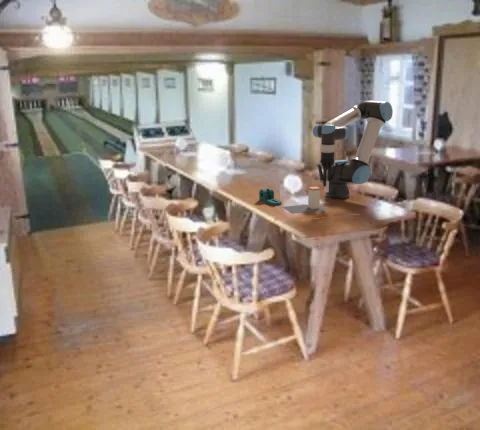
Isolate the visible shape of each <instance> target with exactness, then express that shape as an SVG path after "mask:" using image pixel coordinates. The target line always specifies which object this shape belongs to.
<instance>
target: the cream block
mask: <svg viewBox="0 0 480 430" xmlns="http://www.w3.org/2000/svg"><path fill="white" fill-rule="evenodd" d="M307 197H308V200H307V201H308V202H307V204H308V207H309V208H311V209H317V208H320V206H321V203H320V202H321V188H320V187H319V186H309V187H308V196H307Z"/></svg>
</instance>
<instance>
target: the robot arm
mask: <svg viewBox="0 0 480 430" xmlns="http://www.w3.org/2000/svg"><path fill="white" fill-rule="evenodd" d="M393 112H394V111H393V106H392V104H391V103H390V102H389V101H384V100H364V101H360V102H359V103H357V104H354V105H352V106H351V107H349V109H348V110H347V111H345V112H343V113H341V114H340V115H338V116H335V117H334V118H332V119H331V120H328V121H327V122H324V123H323V124H316V125H314V126H313V129H312V134H313V136H314V137H315V138H318V139H321V147H320V148H321V150H320V151H321V152H320V162H319V163H317V164H316V167H317V169H318V170H317V171H318V175H319V179H320V180H321V181H323V182H322V185H323V188H324V193H325V197H327V198H331V199H340V200H341V199H347V198H350V189H349V185H348V183H351V184H355V185H363V184H365V183H367V182H368V181H369V179H370V176H371V168H370V163H369V160H370V158H371V155H372V153H373V149H374V146H375V144H376V141H377V139H378V136H379V134H380V131H381V128H382V127H384V126H385V125H386V122H389V121H390V120H391V119H392V117H393V114H394V113H393ZM361 120H365V121H366V122H367V124H366V126H365V128H364V132H363V134H362V137H361V139H360V142H359V145H358V147H357V151H356V153H355V156H354V157H353V158H351V159H350V161H349V159H337V160H335V149H336V148H335V147H336V146H335V145H336V144H335V141H341V140H346V139H348V138H349V136H350V129H349V127H347V126H348V125H349V124H352V123H354V122H358V121H361Z"/></svg>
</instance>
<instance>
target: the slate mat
mask: <svg viewBox="0 0 480 430" xmlns="http://www.w3.org/2000/svg"><path fill="white" fill-rule="evenodd" d="M282 208H283V209H284V210H286V211H288V212H289V213H290V214H293V215H294V214H301V213H302V214H303V213H315V212H322V211H324V212H325V211H327V209H326V208H324V207H323V206H321V205H320V208H317V209H311V208H309V207H308V203H307V204H300V205H299V204H298V205H297V204H296V205H288V206H282Z"/></svg>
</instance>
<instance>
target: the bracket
mask: <svg viewBox="0 0 480 430" xmlns="http://www.w3.org/2000/svg"><path fill="white" fill-rule="evenodd" d="M258 196H259V197H258V198H259V199H258V201H259V202H262V203H264V204H267V205H269V206H271V207H275V206H281V205H282V204H283V203H282V200H280V199H277V198H275V190H274V189H273V188H272V187H269V188H261V189H260V190H259V193H258Z"/></svg>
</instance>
